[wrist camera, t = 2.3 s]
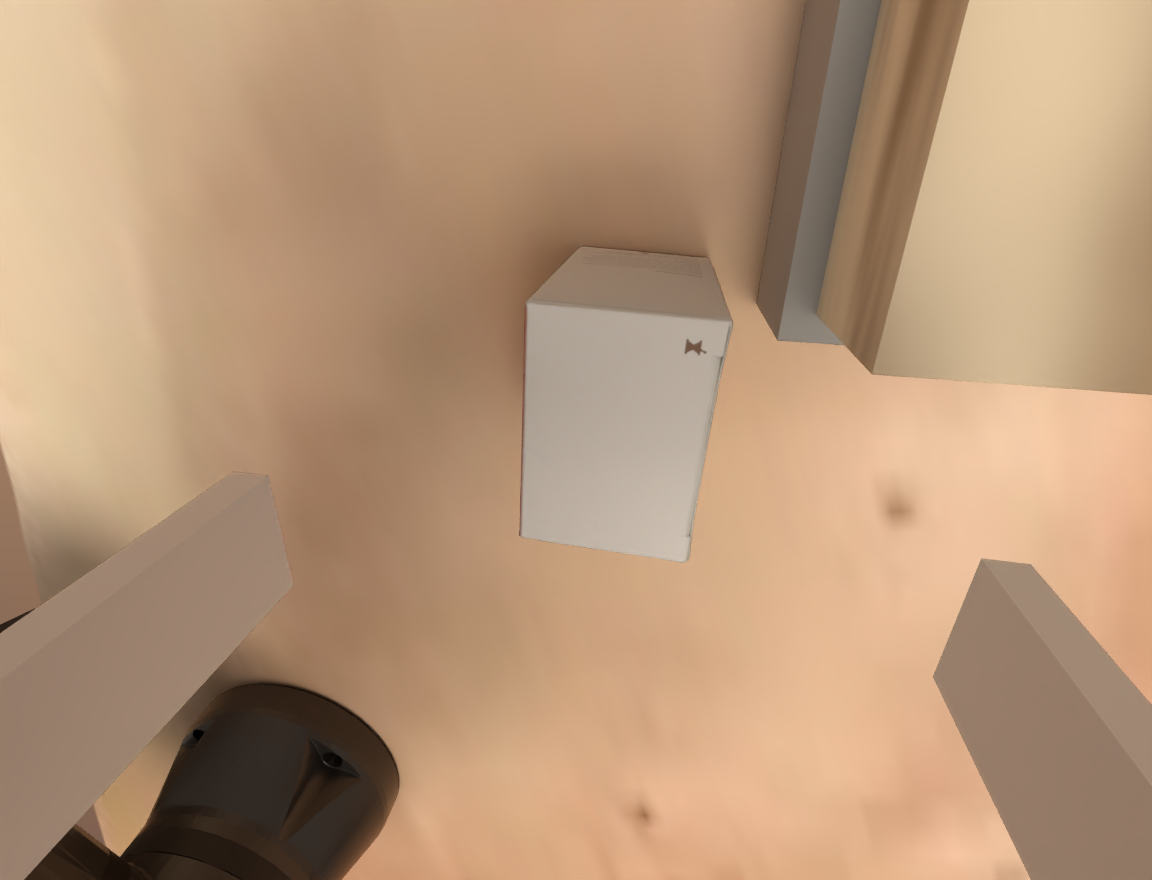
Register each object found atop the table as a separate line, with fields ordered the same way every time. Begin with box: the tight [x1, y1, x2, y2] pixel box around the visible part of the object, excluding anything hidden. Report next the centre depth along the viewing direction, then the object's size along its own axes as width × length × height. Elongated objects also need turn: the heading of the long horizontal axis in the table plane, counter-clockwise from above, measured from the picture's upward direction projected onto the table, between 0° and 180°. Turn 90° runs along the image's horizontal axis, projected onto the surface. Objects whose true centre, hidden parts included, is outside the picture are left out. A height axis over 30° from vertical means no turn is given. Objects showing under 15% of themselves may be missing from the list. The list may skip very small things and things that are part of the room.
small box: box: [519, 246, 733, 563], centre depth 22 cm, size 8×6×10 cm
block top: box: [816, 0, 1152, 395], centre depth 14 cm, size 10×10×6 cm
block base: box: [756, 0, 881, 345], centre depth 19 cm, size 12×12×6 cm
